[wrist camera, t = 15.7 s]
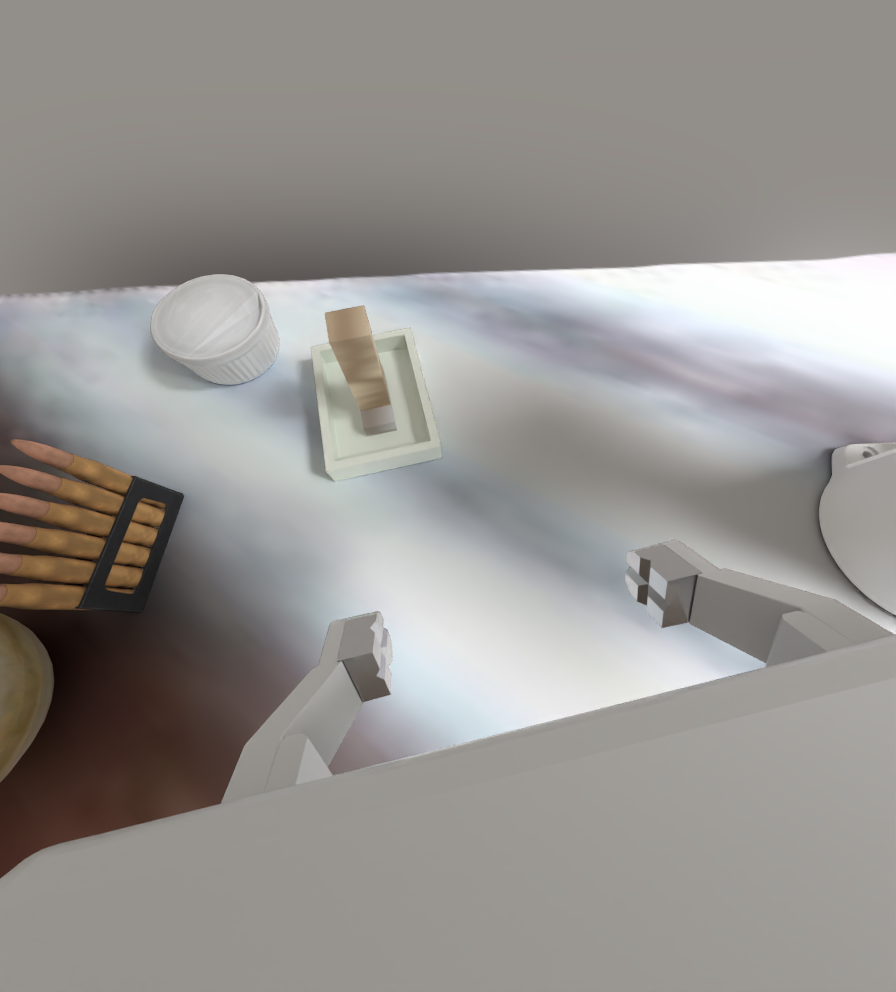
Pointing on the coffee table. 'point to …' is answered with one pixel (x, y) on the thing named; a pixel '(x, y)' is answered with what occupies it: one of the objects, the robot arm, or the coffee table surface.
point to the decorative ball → (21, 690)
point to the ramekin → (217, 329)
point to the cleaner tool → (361, 367)
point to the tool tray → (343, 421)
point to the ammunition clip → (116, 500)
